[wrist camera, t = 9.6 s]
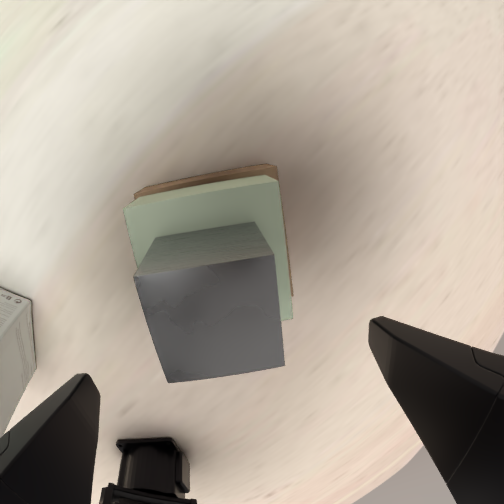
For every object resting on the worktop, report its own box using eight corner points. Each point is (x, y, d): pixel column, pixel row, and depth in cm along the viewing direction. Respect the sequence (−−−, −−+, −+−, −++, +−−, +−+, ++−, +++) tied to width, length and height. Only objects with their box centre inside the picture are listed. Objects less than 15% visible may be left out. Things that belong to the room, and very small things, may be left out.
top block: (167, 309, 19) (160, 341, 15) (139, 196, 16) (122, 208, 13) (279, 289, 19) (293, 318, 16) (265, 174, 17) (278, 181, 14)
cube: (176, 323, 15) (168, 383, 11) (155, 237, 14) (133, 276, 9) (265, 309, 16) (284, 365, 11) (254, 221, 14) (274, 254, 10)
